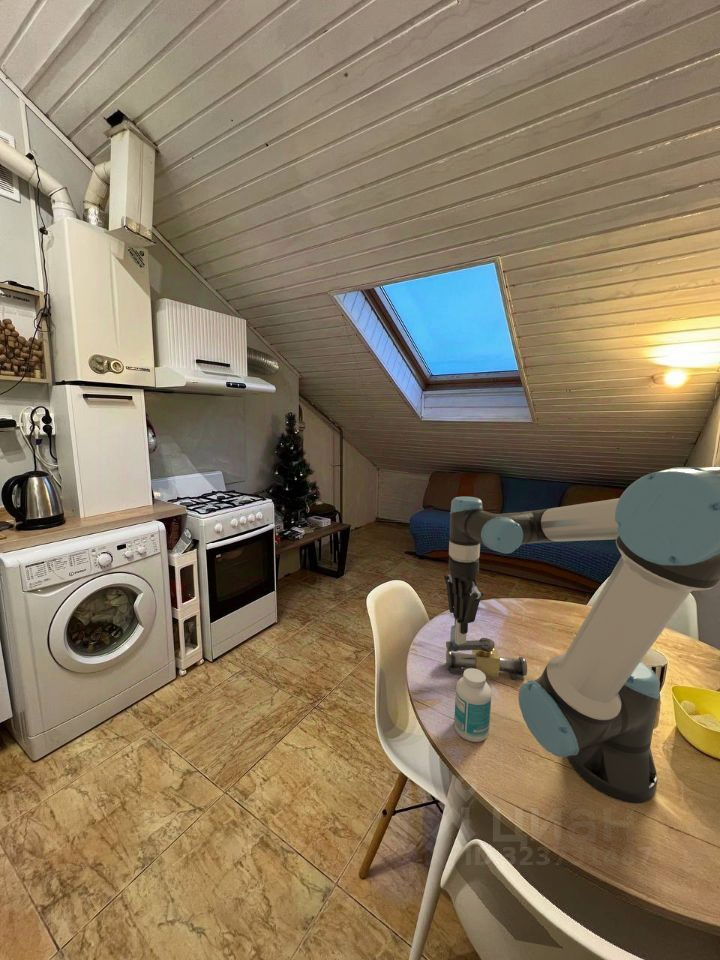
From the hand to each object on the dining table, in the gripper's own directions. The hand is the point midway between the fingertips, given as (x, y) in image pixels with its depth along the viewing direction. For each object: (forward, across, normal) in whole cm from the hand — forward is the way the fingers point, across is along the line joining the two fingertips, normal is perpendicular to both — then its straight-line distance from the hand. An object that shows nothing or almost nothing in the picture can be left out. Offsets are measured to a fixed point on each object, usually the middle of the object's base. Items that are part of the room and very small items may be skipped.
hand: (460, 642), depth 99 cm
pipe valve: (+10, -1, -8) cm, 13 cm away
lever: (+3, 0, -4) cm, 5 cm away
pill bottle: (+10, -15, +9) cm, 20 cm away
